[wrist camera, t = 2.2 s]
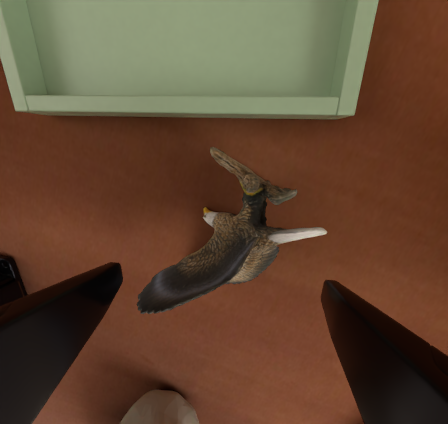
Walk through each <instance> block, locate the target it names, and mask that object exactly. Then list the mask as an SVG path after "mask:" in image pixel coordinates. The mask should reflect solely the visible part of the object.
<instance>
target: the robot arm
mask: <svg viewBox="0 0 448 424" xmlns="http://www.w3.org/2000/svg"><path fill="white" fill-rule="evenodd" d="M122 282H123V275H122V269H121V265H120V264H119V263H114V262H110V263H107V264H105V265H102V266H100V267H97V268H95V269H92V270H90V271H87V272H85V273H82V274H80V275H77V276H75V277H72V278H70V279H67V280H65V281H62V282H60V283H57V284H55V285H52V286H50V287H47V288H45V289H42V290H40V291H37V292H35V293H32V294H30V295H27V294H26V291H25V288H24V286H23V283H22V280H21V277H20V275H19V272H18V269H17V266H16V264H15V261H14V260H13V259H12V258H11V257H8V256H0V424H32V423H33V421H34V420H35V418H36V417H37V415H38V414H39V412H40V411H41V409H42V408H43V406H44V405H45V403H46V402H47V400H48V399H49V397H50V396H51V394H52V393H53V391H54V390H55V388H56V387H57V385H58V384H59V382H60V381H61V379H62V378H63V376H64V375H65V373H66V372H67V370H68V369H69V367H70V366H71V364H72V363H73V362H74V360H75V359H76V357H77V356H78V354H79V353H80V351H81V350H82V348H83V347H84V345H85V344H86V342H87V341H88V339H89V338H90V336H91V335H92V333H93V332H94V330H95V329H96V327H97V326H98V324H99V323H100V321H101V320H102V318H103V317H104V315H105V313H106V312H107V310H108V308H109V306H110V304H111V303H112V301H113V299H114V297H115V295H116V293H117V292H118V290H119V288H120V286H121V284H122ZM321 302H322V306H323V310H324V313H325V317H326V321H327V324H328V328H329V332H330V335H331V338H332V341H333V344H334V347H335V349H336V352H337V354H338V357H339V360H340V362H341V365H342V367H343V370H344V372H345V375H346V378H347V380H348V383H349V385H350V388H351V391H352V393H353V396H354V398H355V401H356V403H357V406H358V409H359V411H360V414H361V416H362V419H363V422H364V424H448V356H447V355H446V354H444V353H443V352H441V351H440V350H438V349H437V348H435V347H434V346H430V344H429V343H428V342H426V341H425V340H423V339H422V338H420V337H419V336H417V335H416V334H414V333H413V332H411V331H410V330H408V329H407V328H405V327H404V326H402V325H401V324H399V323H398V322H397V321H395V320H394V319H392V318H391V317H389V316H388V315H386V314H385V313H383V312H382V311H380V310H379V309H377V308H376V307H374V306H373V305H371V304H370V303H368V302H367V301H365V300H364V299H362V298H361V297H359V296H358V295H356V294H355V293H353V292H352V291H351V290H349V289H348V288H346V287H345V286H343V285H342V284H340V283H339V282H337V281H335V280H325V282H324V285H323V289H322V294H321Z"/></svg>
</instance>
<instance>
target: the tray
mask: <svg viewBox="0 0 448 424" xmlns="http://www.w3.org/2000/svg"><path fill="white" fill-rule="evenodd" d="M378 1H379V0H0V58H1V62H2V65H3V69H4V72H5V76H6V79H7V83H8V86H9V90H10V94H11V97H12V101H13V104H14V108H15V111H18V112H26V113H34V114H42V115H61V116H130V117H199V118H267V119H336V120H337V119H341V118H345V117H350V116H354V115H355V110H356V105H357V100H358V96H359V91H360V86H361V82H362V77H363V72H364V67H365V63H366V58H367V53H368V48H369V44H370V39H371V34H372V29H373V25H374V20H375V15H376V10H377V6H378Z"/></svg>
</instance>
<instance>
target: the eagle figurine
mask: <svg viewBox="0 0 448 424" xmlns="http://www.w3.org/2000/svg"><path fill="white" fill-rule="evenodd" d="M210 153H211V156H212V157H213V158H214V159H215V160H216V162H218V163H219V164H220V165H221V166H223V167H224V168H226V169H227V170H228V171H229V172H230V173H233V174H235V175H236V176H237V178H238V179H239V181H240V185H241V187H242V189H243V190H244V194H243V198H242V201H243V208H242V209H241V211H240V213H239V214H238V215H235V214H232V213H227V212H213V211H210V210H208V209H207V207H205V208H204V209H203V210H204V216H203V218H204V220H205V221H206V222H207V223H208V224H209V225H211V226H212V227H213V228H214V229H215V231H214V234H213V236H212V237H211V239H210V240H209V241H208V243H207V244H206V245H205V246H204V247H202V248H201V249H200V250H198V251H196V252H194V253H192V254H190V255H188V256H186V257H185V258H183V259H182V260H181V261H180V262H179V263H178V264H176V265H173V266H170V267H168V268H166V269H164V270H162V271H161V272H159V273H158V274H156V275H155V276H154V277H153V278H152V280H151V282H150V283H149V284H148V285H147V286H146V287H145V288H144V289H143V291H142V292H141V293H140V294H139V295H138V299H139V301H138V303H137V306H138V310H139V311H140V310H141V314H144V313H148V314H151V313H154V314H155V313H159V312H165V311H167V310H172V309H173V308H175V307H177V306H180V305H183V304H185V303H187V302H189V301H191V300H194V299H197V298H199V297H201V296H202V295H205V294H207V293H209V292H211V291H213V290H215V289H216V288H218V287H220V286H222V285H223V284H229V283H232V284H237V283H238V284H239V283H242V282H247V281H251V280H252V279H253V278H255V277H257V276H258V275H259V274H260V273H262V272H263V271H264V270H265V269H266V268H267V267H268V266H269V265H270V264H271V263H272V262H273V261H274V259H275V258H276V256H277V254H278V252H279V247H278V246H277V245H279V244H282V243H285V242H290V241H294V240H299V239H304V238H310V237H315V236H319V235H324V234H326V233H327V231H326V230H325V229H323V228H321V227H314V228H296V229H283V228H273V227H268V226H267V224H266V220H267V219H266V217H265V209H266V206H267V202H266V199H267V198H268V199H269V200H270V201H271V202H272V203H273V204H275V205H279V204H281V203H282V202H284V201H286V200H289V199H291V198H293V197H294V196H296V194H297V190H296V189H295V190H291V189H288V188H284V189H281V188H280V187H278V186H273V185H271V183H270V182H269V181H268V180H267V181H264V180H263V179H262V178H261V177H259V176H258V175H256V174H255V173H254V172H253V171H251V170H250V169H249V168H247V167H246V166H244V165H243V164H241V163H239V162H238V161H236V160H234V159H232V158H231V157H229V156H228V155H226V154H225V153H224V152H222V151H220V150H219V149H217V148H215V147H211V148H210Z"/></svg>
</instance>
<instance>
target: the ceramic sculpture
mask: <svg viewBox="0 0 448 424" xmlns="http://www.w3.org/2000/svg"><path fill="white" fill-rule="evenodd" d="M120 424H199V421H198V418H197V415H196V411H195V410H194V408H193V407H192V405H191V404H190V403H189V402H187V401H186V400H185V399H184V398H183V397H182V396H181V395H180V394H179V393H177V392H175V391H167V390H166V391H165V390H158V389H156V390H151V391H149V392H147V393H146V394H144V395H143V396H142V397H141V398H140V399H139V400H137V401H136V402H135V403H134V404H133V406H132V407H131V408H130V409H129V411H128V412H127V413H126V415H125V416H124V417H123V419H122V421H121V422H120Z"/></svg>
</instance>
